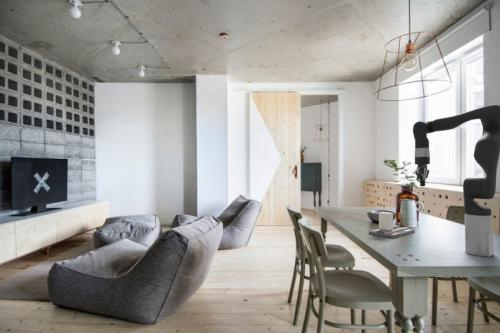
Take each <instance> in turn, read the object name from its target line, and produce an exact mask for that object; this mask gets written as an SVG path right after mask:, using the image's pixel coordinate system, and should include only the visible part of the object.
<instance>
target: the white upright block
mask: <svg viewBox="0 0 500 333" xmlns="http://www.w3.org/2000/svg"><path fill="white" fill-rule="evenodd" d="M393 226H394V213H393V212H387V211H381V212H380V211H379V212H378V229H380V232H384V233H385V232H388V231H392V229H393Z"/></svg>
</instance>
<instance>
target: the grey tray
mask: <svg viewBox="0 0 500 333" xmlns="http://www.w3.org/2000/svg"><path fill="white" fill-rule="evenodd" d="M415 231H416V230H415V229H411V228H410V227H408V226H405V227H399V225H398V224H397V225H396V224H395V225H393V229H392V231H388V232H385V233H384V232H380V228H377V229H372V230H369V231H368V234H369V235H371V236H372V235H373V236H378V237H383V238H387V239H396V238H400V237H405V236H407V235H411V234H414V233H415Z"/></svg>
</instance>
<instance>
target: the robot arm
mask: <svg viewBox="0 0 500 333" xmlns="http://www.w3.org/2000/svg"><path fill="white" fill-rule="evenodd" d="M473 120H474V121H475V120H480V122H481V125H482V133H481V137H480V138H479V139H478V140H477V142H476V143H475V146H474V151H473V159H474V160H475V162H476V163H477V164H478V166H480V167H481V169H482V170H483V171H484V174H485V177H466V178H464V180H463V183H462V192H463V205H464V207H463V208H464V242H465V244H464V248H465V250H464V251H465V253H466V254H470V255H473V256H479V257H488V258H490V257H492V256H493V255H495V247H494V246H495V245H494V244H495V241H494V239H495V238H494V232H493V228H492V227H493V226H492V224H493V223H492V209H491V208H489V207H488V206H486V205H485V206H484V205H481V204H480V203H478V202H477V201H476V200H475V199H477V200H493V198H495V194H496V189H497V175H498V174H497V171H498V166H499V165H498V164H499V160H500V105H499V104H489V105H488V104H487V105H484V106H482V107H479V108H475V109H472V110H468V111H465V112H462V113H459V114H456V115H455V114H454V115H451V116H447V117H446V116H445V117H440V118H436V119H434V120H430V121H429V120H428V121H423V120H419V121H417V122H415V123H414V124H413V127H412V136H413V139H414V165H417V167H416V168H417V169H415V170H414V172H415V176H416V177H417V179H419V186H420V187H425V186H426V179H428V177H429V174H430V169H428V165H430V164H431V152H430V140H429V138H428V137H427V136H428V135H427V134H432V133H436V132H443V131H449V130H454V129H456V128H458V127H460V126H462V125H463V124H465V123H467V122H469V121H473Z"/></svg>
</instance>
